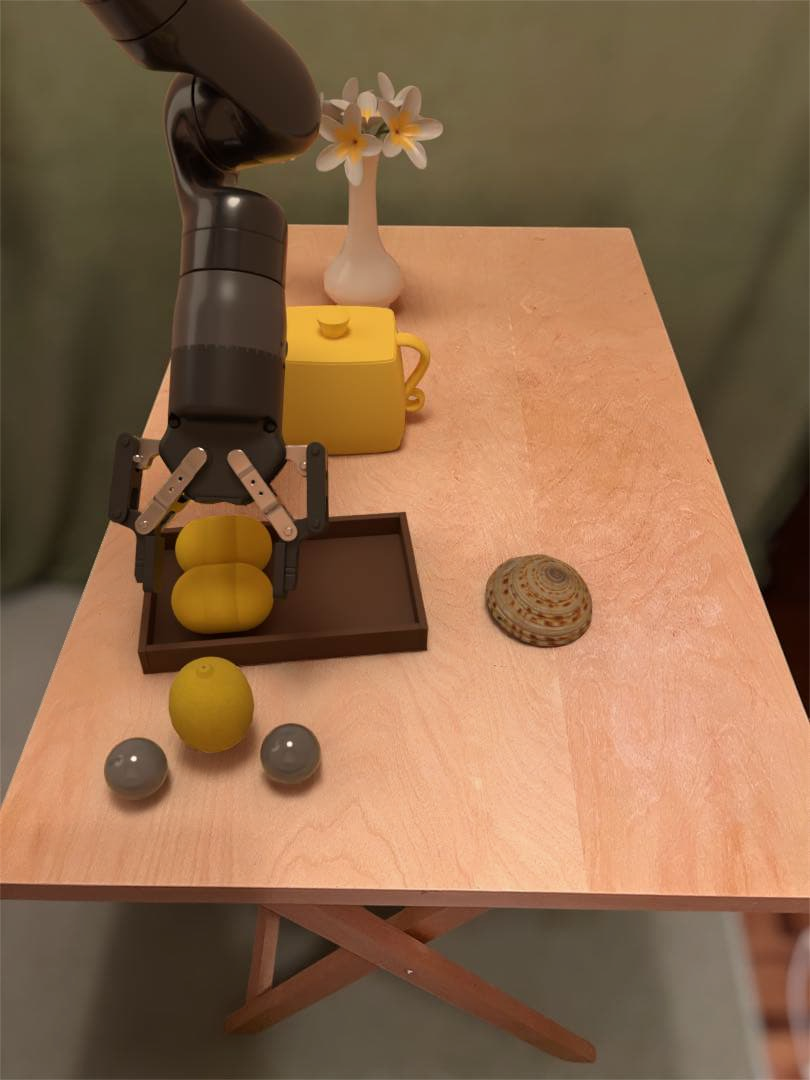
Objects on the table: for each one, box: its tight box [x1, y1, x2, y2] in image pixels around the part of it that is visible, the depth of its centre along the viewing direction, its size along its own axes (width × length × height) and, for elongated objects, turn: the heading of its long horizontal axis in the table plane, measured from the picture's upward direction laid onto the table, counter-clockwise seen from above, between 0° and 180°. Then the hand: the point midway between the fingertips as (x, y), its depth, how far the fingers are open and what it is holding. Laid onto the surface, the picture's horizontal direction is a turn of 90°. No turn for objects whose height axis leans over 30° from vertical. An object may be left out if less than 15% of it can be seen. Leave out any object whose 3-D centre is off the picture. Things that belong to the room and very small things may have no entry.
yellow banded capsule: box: [175, 514, 272, 572], centre depth 73 cm, size 8×5×5 cm
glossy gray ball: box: [103, 736, 169, 801], centre depth 59 cm, size 4×4×4 cm
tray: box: [137, 511, 429, 675], centre depth 72 cm, size 21×13×3 cm, turn 97°
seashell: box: [485, 553, 593, 647], centre depth 73 cm, size 8×6×8 cm
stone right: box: [259, 722, 322, 786], centre depth 60 cm, size 4×4×4 cm
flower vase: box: [279, 71, 444, 309], centre depth 99 cm, size 13×18×25 cm
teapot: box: [282, 305, 431, 456], centre depth 87 cm, size 20×12×12 cm, turn 92°
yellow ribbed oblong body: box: [171, 563, 274, 634], centre depth 69 cm, size 8×5×5 cm
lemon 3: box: [168, 657, 255, 754], centre depth 61 cm, size 6×6×8 cm
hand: (216, 595), depth 61 cm, fingers open, 8 cm apart
